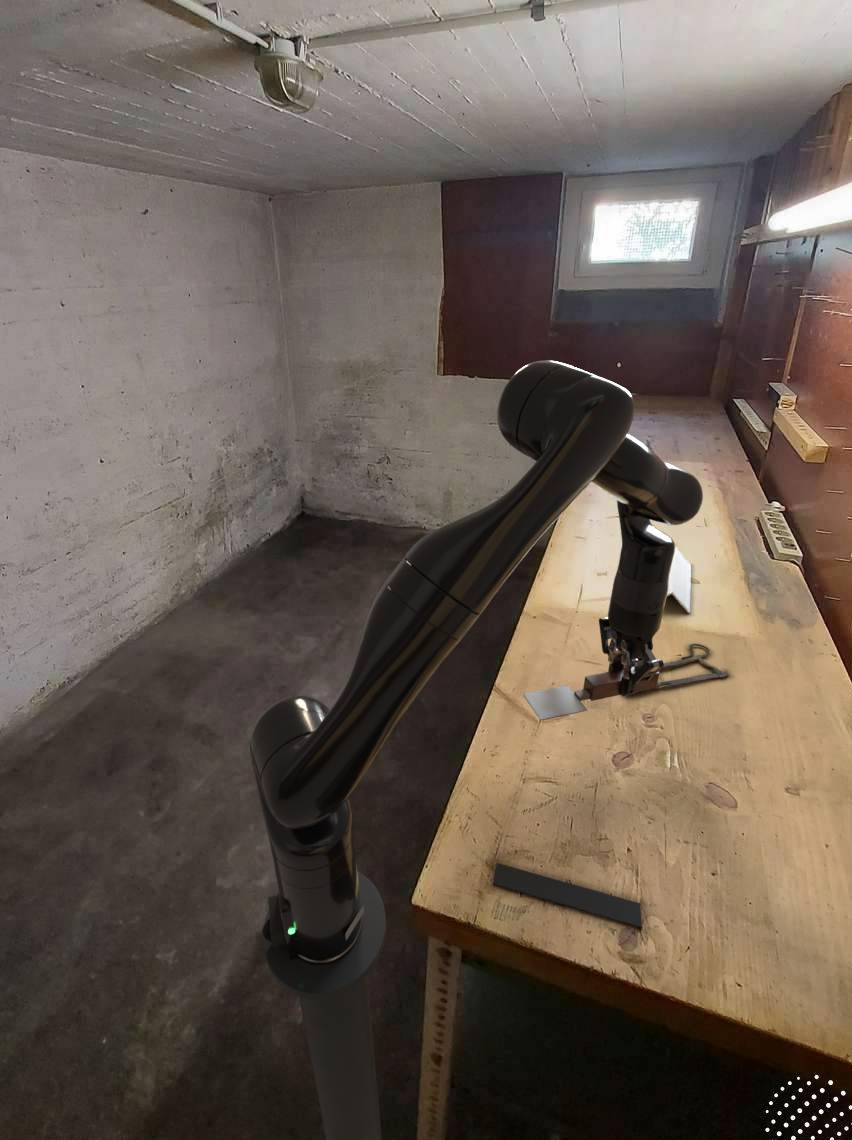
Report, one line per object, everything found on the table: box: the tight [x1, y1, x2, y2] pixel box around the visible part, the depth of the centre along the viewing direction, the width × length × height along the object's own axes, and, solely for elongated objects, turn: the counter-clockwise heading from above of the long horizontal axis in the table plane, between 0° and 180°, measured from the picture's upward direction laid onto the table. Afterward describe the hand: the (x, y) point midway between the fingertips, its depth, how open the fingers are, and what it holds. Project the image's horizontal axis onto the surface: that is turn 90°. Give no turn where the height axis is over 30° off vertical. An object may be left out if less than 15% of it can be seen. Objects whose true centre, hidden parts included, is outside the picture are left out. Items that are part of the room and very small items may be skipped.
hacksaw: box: [636, 643, 731, 693], centre depth 110 cm, size 24×10×2 cm, turn 103°
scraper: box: [522, 667, 660, 721], centre depth 90 cm, size 22×6×3 cm, turn 104°
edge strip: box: [492, 862, 643, 929], centre depth 72 cm, size 18×3×1 cm, turn 72°
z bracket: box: [667, 546, 692, 614], centre depth 139 cm, size 12×25×6 cm
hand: (620, 687), depth 91 cm, fingers closed on scraper, 2 cm apart
